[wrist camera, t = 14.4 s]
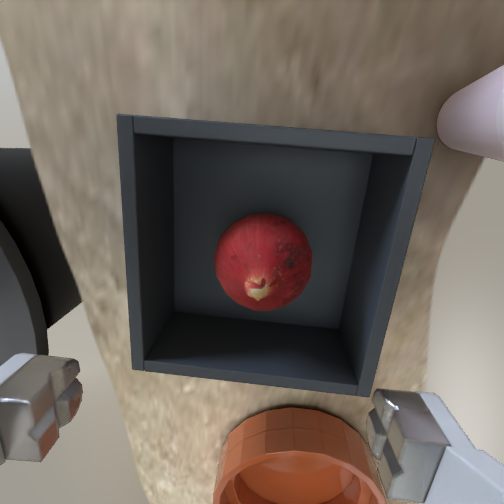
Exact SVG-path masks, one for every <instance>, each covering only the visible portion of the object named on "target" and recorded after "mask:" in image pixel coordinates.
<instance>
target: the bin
mask: <svg viewBox="0 0 504 504" xmlns="http://www.w3.org/2000/svg"><path fill="white" fill-rule="evenodd" d="M117 132H118V148H119V164H120V180H121V196H122V213H123V229H124V245H125V261H126V278H127V294H128V310H129V326H130V342H131V359H132V369H133V370H141V371H144V370H145V371H148V372H156V373H165V374H173V375H182V376H190V377H199V378H208V379H216V380H225V381H233V382H242V383H250V384H259V385H268V386H276V387H285V388H293V389H302V390H310V391H319V392H327V393H336V394H345V395H353V396H361V397H370V393H371V389H372V385H373V381H374V377H375V373H376V369H377V365H378V361H379V358H380V354H381V350H382V346H383V342H384V338H385V334H386V330H387V326H388V322H389V318H390V315H391V311H392V307H393V303H394V299H395V295H396V291H397V287H398V283H399V279H400V275H401V271H402V268H403V264H404V260H405V256H406V252H407V248H408V244H409V240H410V236H411V232H412V228H413V224H414V221H415V217H416V213H417V209H418V205H419V201H420V197H421V193H422V189H423V185H424V181H425V178H426V174H427V170H428V166H429V162H430V158H431V154H432V150H433V146H434V142H435V139H434V138H423V137H409V136H396V135H383V134H370V133H358V132H345V131H332V130H319V129H306V128H293V127H281V126H268V125H255V124H242V123H229V122H216V121H203V120H191V119H178V118H165V117H152V116H139V115H127V114H117ZM264 213H271V214H274V215H277V216H281V217H284V218H287V219H289V220H291V221H292V222H293V223H294V224H295V225H296V226H297V227H298V228H299V229H301V230H302V231H303V232H304V233H305V235H306V238H307V240H308V242H309V245H310V247H311V250H312V252H313V254H312V267H311V277H310V279H309V281H308V283H307V284H306V286H305V288H304V290H303V292H302V293H301V294H300V295H299V296H298V297H297V298H296V299H294V300H293V301H292V302H291V303H290V304H288V305H286V306H284V307H281V308H278V309H275V310H272V311H255V310H252V309H250V308H247V307H245V306H242V305H239V304H238V303H237V302H235V301H234V300H233V299H232V298H231V297H230V296H228V295H227V294H226V293H225V291H224V289H223V287H222V285H221V283H220V281H219V280H218V278H217V276H216V269H215V261H214V256H215V251H216V248H217V245H218V242H219V239H220V237H221V236H222V234H223V233H224V232H225V231H226V230H227V229H228V228H229V227H230V226H231V225H232V224H233V223H234V222H236V221H238V220H240V219H242V218H244V217H246V216H248V215H251V214H264Z"/></svg>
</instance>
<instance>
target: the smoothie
mask: <svg viewBox="0 0 504 504" xmlns="http://www.w3.org/2000/svg"><path fill="white" fill-rule="evenodd" d="M437 133H438V136H439V138H440V140H441V141H442V142H443V143H444V144H445V145H446V146H447V147H449V148H451V149H454V150H458V151H462V152H466V153H471V154H475V155H479V156H483V157H487V158H491V159H495V160H499V161H504V65H503V66H501V67H499V68H497V69H496V70H494V71H492V72H490V73H489V74H487V75H485V76H483V77H482V78H480V79H478V80H476V81H475V82H473V83H471V84H469V85H468V86H466V87H464V88H462V89H461V90H459V91H457V92H456V93H454V94H453V95H451V96H450V97H449V98H448V99H447V100H446V102H445V103H444V104H443V106H442V108H441V109H440V112H439V114H438V118H437Z"/></svg>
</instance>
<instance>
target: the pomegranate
mask: <svg viewBox="0 0 504 504" xmlns="http://www.w3.org/2000/svg"><path fill="white" fill-rule="evenodd" d="M312 254H313V252H312V250H311V247H310V245H309V242H308V240H307V238H306V235H305V233H304V232H303V231H302V230H301V229H299V228H298V227H297V226H296V225H295V224H294V223H293V222H292V221H291V220H289V219H287V218H284V217H281V216H277V215H274V214H271V213H264V214H251V215H248V216H246V217H244V218H242V219H240V220H238V221H236V222H234V223H233V224H232V225H231V226H230V227H229V228H228V229H227V230H226V231H225V232H224V233H223V234H222V236H221V237H220V239H219V242H218V245H217V248H216V251H215V256H214V261H215V269H216V276H217V278H218V280H219V281H220V283H221V285H222V287H223V289H224V291H225V293H226V294H227V295H228V296H230V297H231V298H232V299H233V300H234V301H235V302H237V303H238V304H239V305H242V306H245V307H247V308H250V309H252V310H255V311H272V310H275V309H278V308H281V307H284V306H286V305H288V304H290V303H291V302H292V301H293V300H294V299H296V298H297V297H298V296H299V295H300V294H301V293H302V292H303V290H304V288H305V286H306V284H307V283H308V281H309V279H310V277H311V267H312Z"/></svg>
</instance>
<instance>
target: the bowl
mask: <svg viewBox="0 0 504 504" xmlns="http://www.w3.org/2000/svg"><path fill="white" fill-rule="evenodd" d="M213 504H386V501H385V496H384V493H383V490H382V487H381V484H380V480H379V477H378V474H377V471H376V468H375V465H374V461H373V458H372V455H371V452H370V450H369V448H368V446H367V445H366V443H365V442H364V440H363V439H362V437H361V436H360V434H359V433H358V432H356V431H355V430H354V429H353V428H351V427H350V426H349V425H347V424H346V423H345V422H343V421H342V420H341V419H339V418H336V417H333V416H331V415H328V414H326V413H323V412H321V411H317V410H309V409H301V408H292V407H291V408H283V409H275V410H268V411H265V412H262V413H260V414H258V415H255V416H253V417H250V418H248V419H246V420H245V421H243V422H242V423H241V424H240V425H239V426H238V427H236V428H235V429H234V430H233V431H232V432H231V433H230V434H229V436H228V438H227V440H226V442H225V443H224V445H223V447H222V450H221V455H220V460H219V466H218V472H217V477H216V483H215V488H214V494H213Z"/></svg>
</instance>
